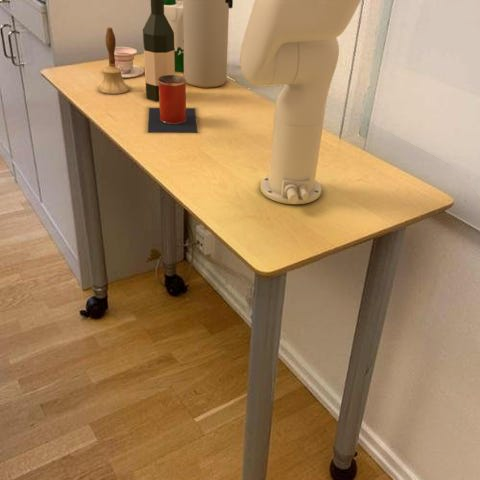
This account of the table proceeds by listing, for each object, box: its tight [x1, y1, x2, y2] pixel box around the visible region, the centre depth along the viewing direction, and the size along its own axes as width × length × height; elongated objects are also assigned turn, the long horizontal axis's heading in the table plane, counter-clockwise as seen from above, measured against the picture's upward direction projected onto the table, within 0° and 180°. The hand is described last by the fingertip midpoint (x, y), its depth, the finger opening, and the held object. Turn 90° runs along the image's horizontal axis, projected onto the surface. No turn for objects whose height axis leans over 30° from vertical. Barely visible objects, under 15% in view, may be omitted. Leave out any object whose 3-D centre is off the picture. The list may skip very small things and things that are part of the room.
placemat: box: [147, 107, 199, 134], centre depth 148 cm, size 16×12×1 cm
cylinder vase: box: [182, 0, 230, 89], centre depth 164 cm, size 12×12×25 cm
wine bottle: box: [142, 0, 176, 102], centre depth 151 cm, size 8×8×30 cm
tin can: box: [158, 74, 187, 125], centre depth 145 cm, size 7×7×10 cm
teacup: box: [103, 46, 145, 79], centre depth 173 cm, size 12×12×6 cm
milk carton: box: [164, 0, 184, 73], centre depth 174 cm, size 9×9×20 cm
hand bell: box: [98, 27, 130, 95], centre depth 158 cm, size 8×8×16 cm
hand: (252, 7), depth 126 cm, fingers open, 9 cm apart
